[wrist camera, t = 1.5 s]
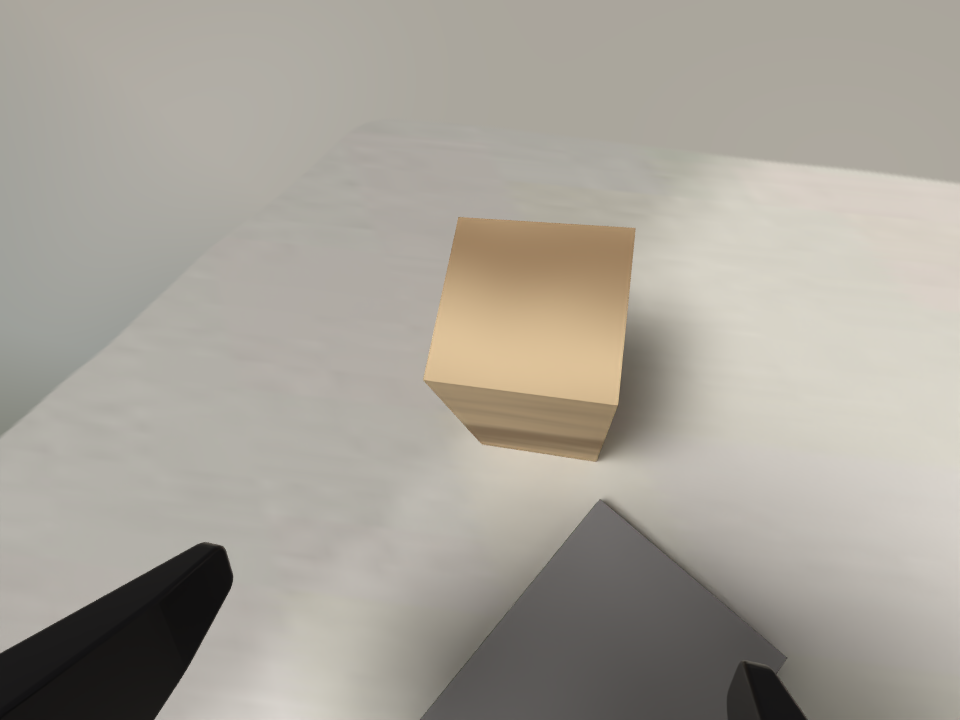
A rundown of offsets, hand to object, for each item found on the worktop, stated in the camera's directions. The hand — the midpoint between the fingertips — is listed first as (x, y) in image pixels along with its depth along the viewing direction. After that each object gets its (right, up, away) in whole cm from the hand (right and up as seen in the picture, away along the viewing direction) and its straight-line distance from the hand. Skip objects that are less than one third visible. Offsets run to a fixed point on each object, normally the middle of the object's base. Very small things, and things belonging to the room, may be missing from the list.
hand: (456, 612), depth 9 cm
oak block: (+3, +3, +14) cm, 15 cm away
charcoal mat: (+4, -8, +10) cm, 14 cm away
